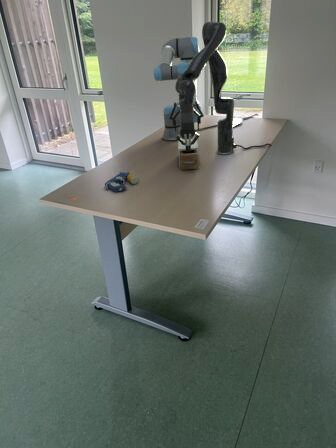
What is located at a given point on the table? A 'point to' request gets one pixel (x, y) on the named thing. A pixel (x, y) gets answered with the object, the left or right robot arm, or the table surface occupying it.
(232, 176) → the table surface
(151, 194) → the table surface
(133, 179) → the spray gun
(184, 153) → the drawer
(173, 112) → the left robot arm
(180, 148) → the cabinet
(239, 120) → the spoon
